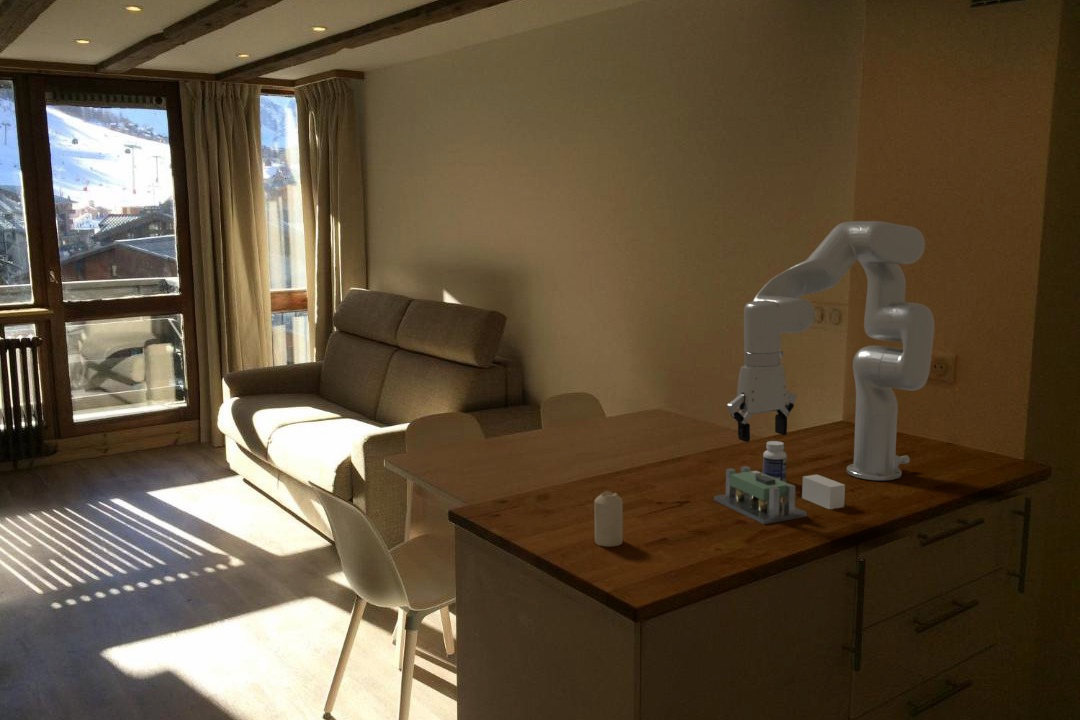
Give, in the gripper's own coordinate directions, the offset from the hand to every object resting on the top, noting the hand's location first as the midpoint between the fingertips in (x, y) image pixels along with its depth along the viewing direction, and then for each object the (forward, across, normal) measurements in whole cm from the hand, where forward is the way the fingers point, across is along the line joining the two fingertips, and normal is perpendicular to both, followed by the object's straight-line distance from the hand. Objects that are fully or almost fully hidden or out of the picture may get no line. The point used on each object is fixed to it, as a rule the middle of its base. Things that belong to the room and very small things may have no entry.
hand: (762, 437), depth 194 cm
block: (+16, -14, +3) cm, 21 cm away
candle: (+14, +40, +4) cm, 43 cm away
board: (+12, +1, 0) cm, 12 cm away
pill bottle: (+17, -14, -14) cm, 26 cm away
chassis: (+16, +1, 0) cm, 16 cm away
